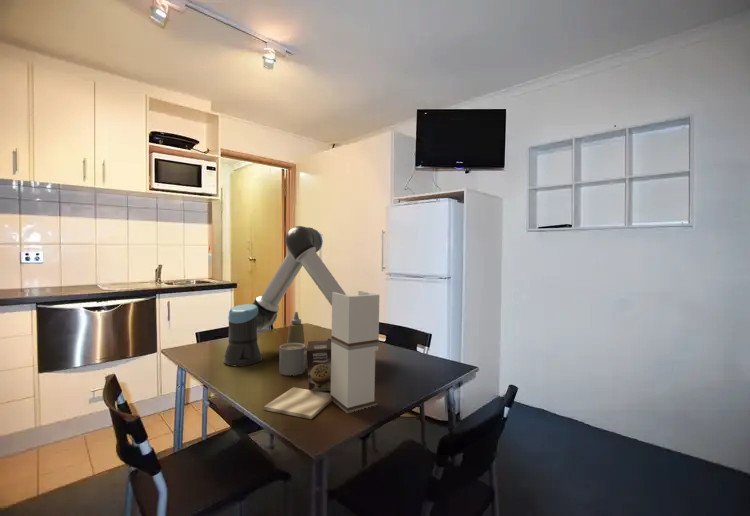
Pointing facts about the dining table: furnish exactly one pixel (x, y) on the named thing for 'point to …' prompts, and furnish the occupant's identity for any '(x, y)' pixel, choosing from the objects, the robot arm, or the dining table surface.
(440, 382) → the dining table surface
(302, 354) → the coffee mug
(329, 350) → the coffee box
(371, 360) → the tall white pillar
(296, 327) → the squeeze bottle
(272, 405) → the birch board
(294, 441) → the dining table surface
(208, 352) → the dining table surface
